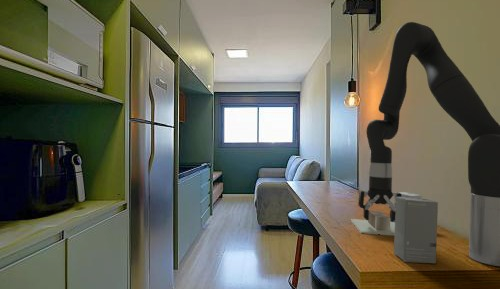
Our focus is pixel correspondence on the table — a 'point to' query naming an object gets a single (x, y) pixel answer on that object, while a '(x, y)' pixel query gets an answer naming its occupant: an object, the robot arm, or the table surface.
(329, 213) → the table surface
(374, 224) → the walnut block
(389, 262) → the table surface
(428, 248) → the skincare box
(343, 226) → the table surface
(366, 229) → the mat
